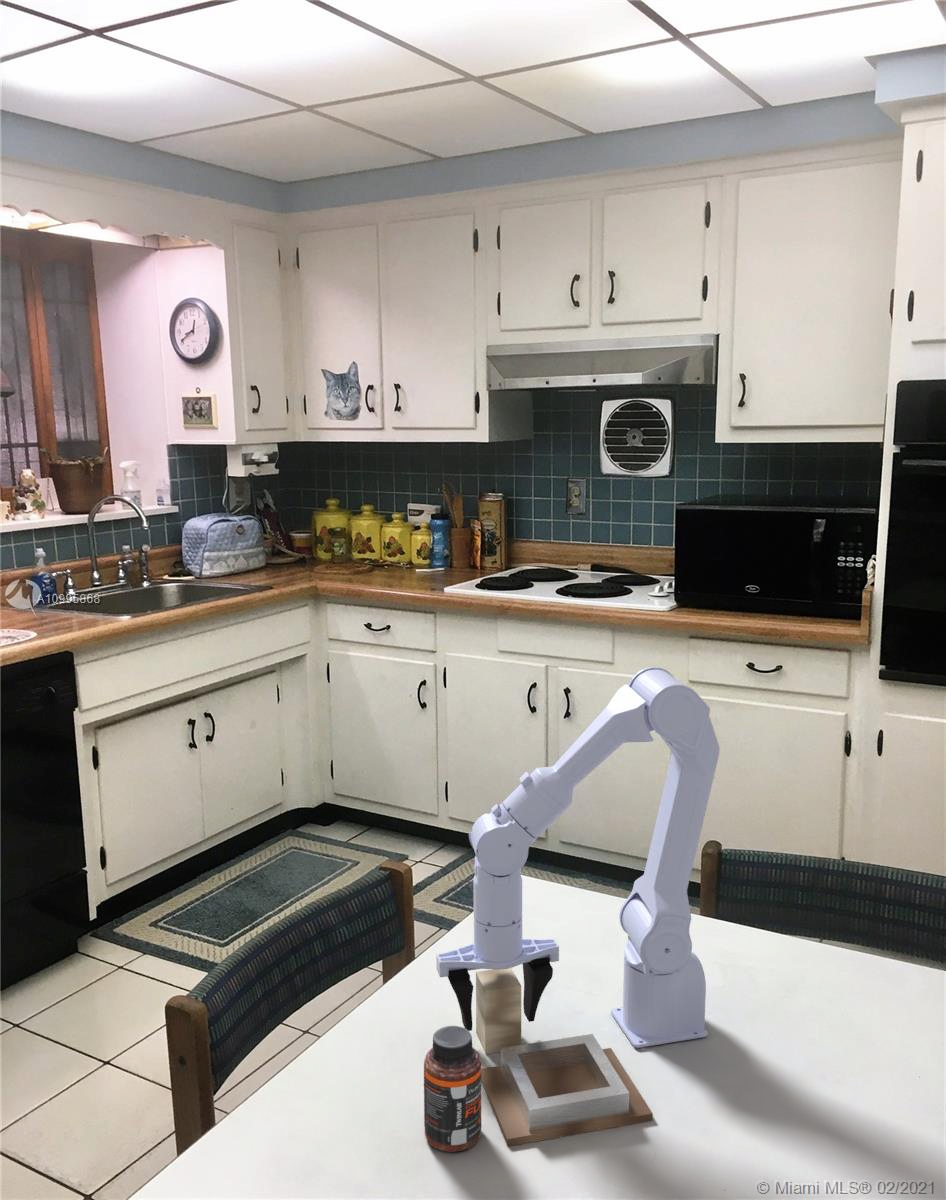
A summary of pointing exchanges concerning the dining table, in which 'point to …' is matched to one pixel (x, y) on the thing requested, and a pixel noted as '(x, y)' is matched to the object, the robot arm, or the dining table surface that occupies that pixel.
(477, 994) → the peg
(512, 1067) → the collar board
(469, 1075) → the supplement bottle
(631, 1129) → the dining table surface
